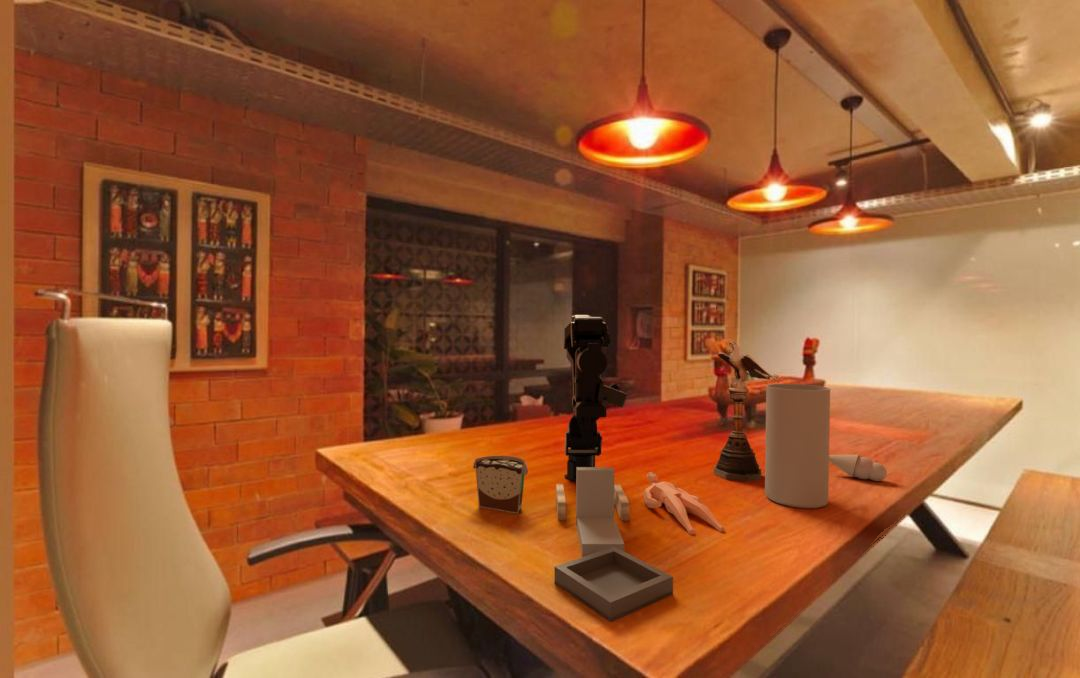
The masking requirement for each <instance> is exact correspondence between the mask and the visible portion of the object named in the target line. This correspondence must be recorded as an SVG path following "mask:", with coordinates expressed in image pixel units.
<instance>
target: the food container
mask: <svg viewBox="0 0 1080 678" xmlns="http://www.w3.org/2000/svg"><path fill="white" fill-rule="evenodd" d="M472 469H475V477H476V489H477V490H476V491H477V499H478V500H477V501H478V507H479V508H483V509H488V510H493V511H498V512H499V511H500V512H504V511H505V513H511V514H515V513H516V515H519V514H520V513H521V512H522V507H523V506H522V505H523V498H524V497H523V495H524V485H525V476H527V475H528V474H529V470H528V465H527V463H526V460H525V459H523V458H521V457H518V456H512V455H488V456H487V455H486V456H481V457H478V458H475V459H474V462H473V466H472Z"/></svg>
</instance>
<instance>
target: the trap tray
mask: <svg viewBox="0 0 1080 678" xmlns="http://www.w3.org/2000/svg"><path fill="white" fill-rule="evenodd" d="M554 584H555V585H556V586H558V587H559V588H561V589H562V590H564V591H565V592H566V593H568V594H570V595H571V596H572V597H574V598H575V599H577V600H578V601H580V602H581V603H582V604H584V605H585V606H587V607H588V608H590V609H591V610H593V611H594V612H595V613H597V614H598V615H600V616H601V617H603V618H604V619H605V620H607V621H609V622H613V621H614V622H615V621H616V620H618V619H620V618H623V617H624V616H626V615H629V614H631V613H634V612H636V611H637V610H640V609H642V608H645V607H647V606H649V605H651V604H653V603H656V602H658V601H661V600H662V599H664V598H665V599H666V598H668V597H671V596H672V595H673V594H674V576H673V575H671V574H668V573H667V572H665V571H663V570H661V569H659V568H657V567H655V566H653V565H651V564H649V563H648V562H645V561H643V560H641V559H639V558H638V557H636V556H634V555H632V554H630V553H628V552H626V551H625V550H624V551H622V550H620V549H618V548H616V547H611V548H608V549H605V550H602V551H599V552H596V553H593V554H590V555H587V556H581V557H579V558H576V559H573V560H569V561H567V562H564V563H560V564H557V565H555V566H554Z"/></svg>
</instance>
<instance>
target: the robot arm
mask: <svg viewBox="0 0 1080 678" xmlns="http://www.w3.org/2000/svg"><path fill="white" fill-rule="evenodd" d="M610 343H611V338H610V332H609V327H608V325H607V322H606V321H604V318H603V317H602V316H592V315H589V314H574V315H572V316H571V320H570V322H569V324H568V325H567V326H566V327H565V328H564V331H563V350H565V353H566V354H565V356H566V359H567V361H569V363H570V364H571V367H572V372H571V373H572V397H571V407H572V408H573V415H572V417H571V418H570V420H569V422H568V425H567V430H566V431H565V436H564V438H565V439H564V453H565V456H566V457H568V460H567V461H566V474H564V478H566V479H569V480H572V481H574V482H576V467H596V457H599V456H600V455H602V445H603V437H602V436H601V433H600V432H601V431H599V430H598V424H597V421H599V420H600V418H607V407H606V405H605V404H604V402H605V401H606V402H608V403H610V404H614V405H616V406H617V407H619V408H624V405H625V403H626V401H627V398H628V393H626V392H625V391H622V390H621V389H620V385H619V384H616V383H611V384H610V385H605V384H604V379H603V378H602V374H603V373H605V370H606V368H607V366H608V365H607V364H608V359H607V357H606V354H605V353H604V352H603V351H602V348H609V345H610Z"/></svg>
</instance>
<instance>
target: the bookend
mask: <svg viewBox="0 0 1080 678" xmlns="http://www.w3.org/2000/svg"><path fill="white" fill-rule="evenodd" d="M575 483H576V484H575V485H576V487H575V489H576V490H575V492H576V495H575V496H576V497H575V500H576V501H575V503H576V504H575V516H576V517H575V526H576V531H577V536H578V540H579V541H578V542H579V545H580V551H581V557H584V556H587V555H590V554H593V553H596V552H599V551H602V550H605V549H608V548H611V547H616V548H618V549H620V550H622V551H624V552H625V542H624V540H623V537H622V535H621V532H620V529H619V527H618V524H617V522H616V520H615V519H616V518H615V504H614V484H615V469H614V467H612V466H611V467H608V466H607V467H606V466H605V467H604V466H603V467H601V466H600V467H598V466H597V467H596V466H595V467H576V481H575Z"/></svg>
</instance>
